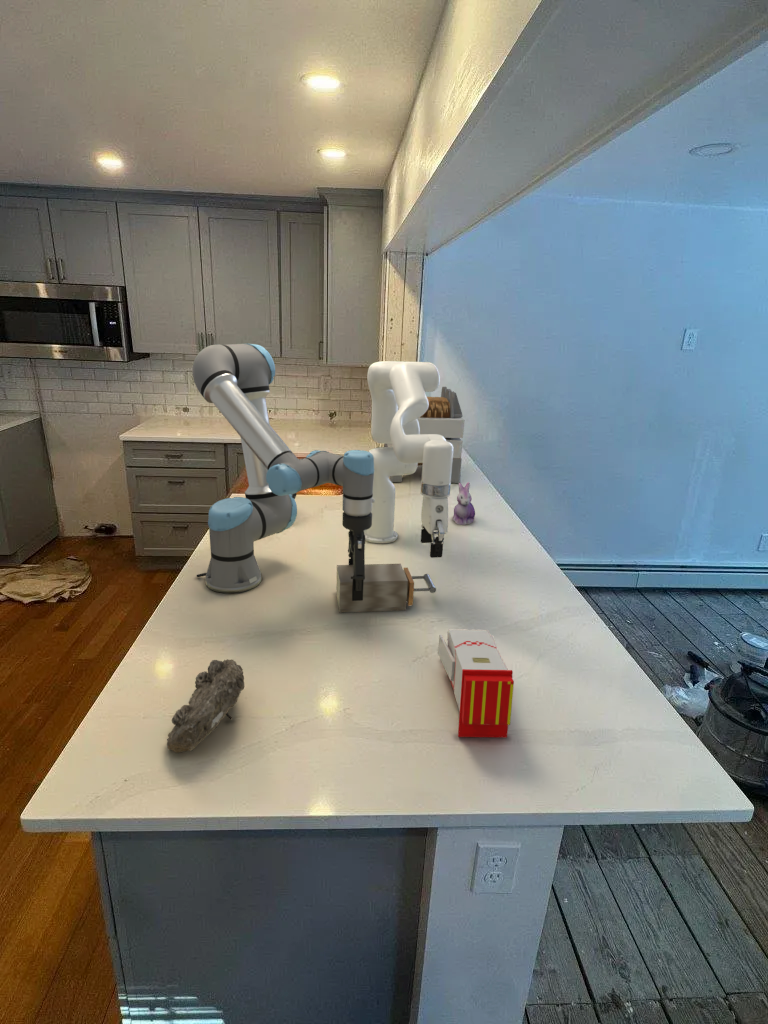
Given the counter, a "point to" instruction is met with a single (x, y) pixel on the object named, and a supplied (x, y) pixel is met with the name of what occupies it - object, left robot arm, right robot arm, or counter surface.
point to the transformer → (443, 427)
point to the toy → (478, 682)
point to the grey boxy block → (373, 588)
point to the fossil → (206, 705)
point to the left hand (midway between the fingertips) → (355, 589)
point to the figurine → (464, 506)
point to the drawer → (411, 588)
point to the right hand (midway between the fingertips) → (430, 549)
